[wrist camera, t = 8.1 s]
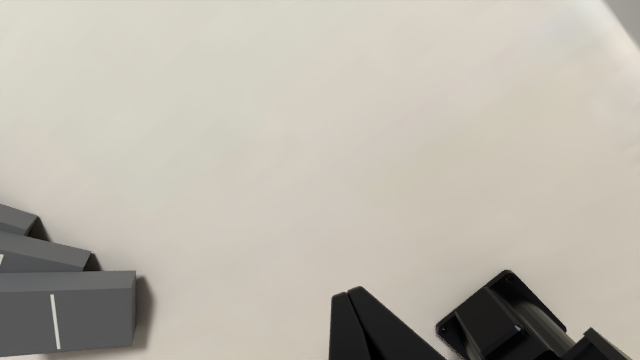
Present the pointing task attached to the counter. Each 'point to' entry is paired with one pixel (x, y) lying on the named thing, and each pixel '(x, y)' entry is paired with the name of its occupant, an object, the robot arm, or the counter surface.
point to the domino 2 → (38, 255)
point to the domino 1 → (16, 220)
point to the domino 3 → (66, 311)
